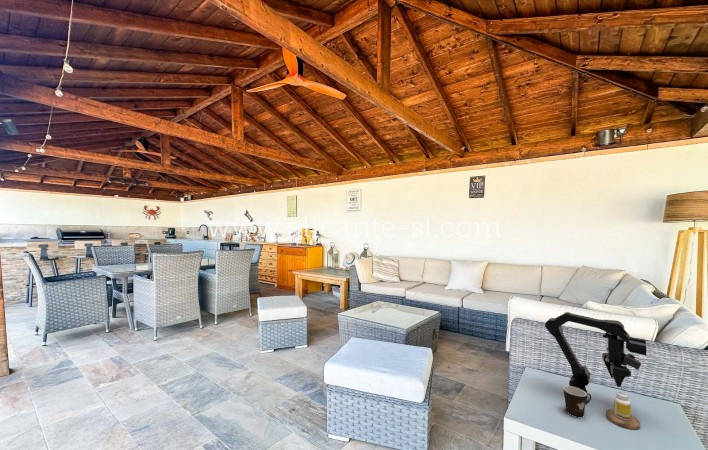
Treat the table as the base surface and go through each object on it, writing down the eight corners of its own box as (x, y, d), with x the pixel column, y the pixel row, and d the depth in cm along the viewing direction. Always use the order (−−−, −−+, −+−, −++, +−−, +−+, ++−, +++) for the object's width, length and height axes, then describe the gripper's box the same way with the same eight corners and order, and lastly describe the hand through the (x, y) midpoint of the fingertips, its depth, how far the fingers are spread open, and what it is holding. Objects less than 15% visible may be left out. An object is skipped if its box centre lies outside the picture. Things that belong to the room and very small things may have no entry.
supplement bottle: (634, 421, 125) (633, 398, 125) (619, 419, 126) (619, 396, 127) (625, 413, 131) (625, 391, 131) (611, 412, 132) (611, 390, 132)
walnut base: (611, 425, 126) (611, 420, 126) (602, 411, 136) (602, 406, 136) (645, 432, 121) (645, 428, 121) (633, 417, 131) (633, 413, 131)
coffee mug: (566, 416, 131) (566, 394, 131) (560, 405, 139) (560, 384, 140) (598, 422, 127) (598, 399, 127) (590, 411, 135) (590, 389, 136)
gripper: (647, 360, 125) (646, 397, 125) (631, 345, 141) (631, 377, 141) (613, 354, 130) (612, 389, 130) (601, 340, 147) (601, 372, 146)
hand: (615, 382), depth 137 cm, fingers open, 9 cm apart
